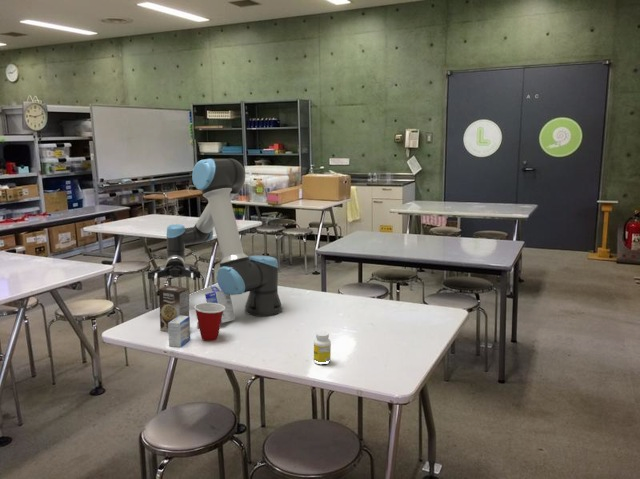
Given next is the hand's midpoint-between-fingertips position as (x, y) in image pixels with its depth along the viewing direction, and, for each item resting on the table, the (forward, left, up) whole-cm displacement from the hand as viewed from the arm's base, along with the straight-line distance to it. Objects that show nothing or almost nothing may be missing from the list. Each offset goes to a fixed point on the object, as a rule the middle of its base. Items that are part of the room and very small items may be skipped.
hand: (173, 281), depth 202 cm
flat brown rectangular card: (-11, +7, -16) cm, 21 cm away
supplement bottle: (-47, +48, -16) cm, 69 cm away
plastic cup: (-13, +21, -16) cm, 29 cm away
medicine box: (-2, +23, -16) cm, 28 cm away
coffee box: (0, +10, -16) cm, 19 cm away
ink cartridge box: (-18, +6, -16) cm, 25 cm away
